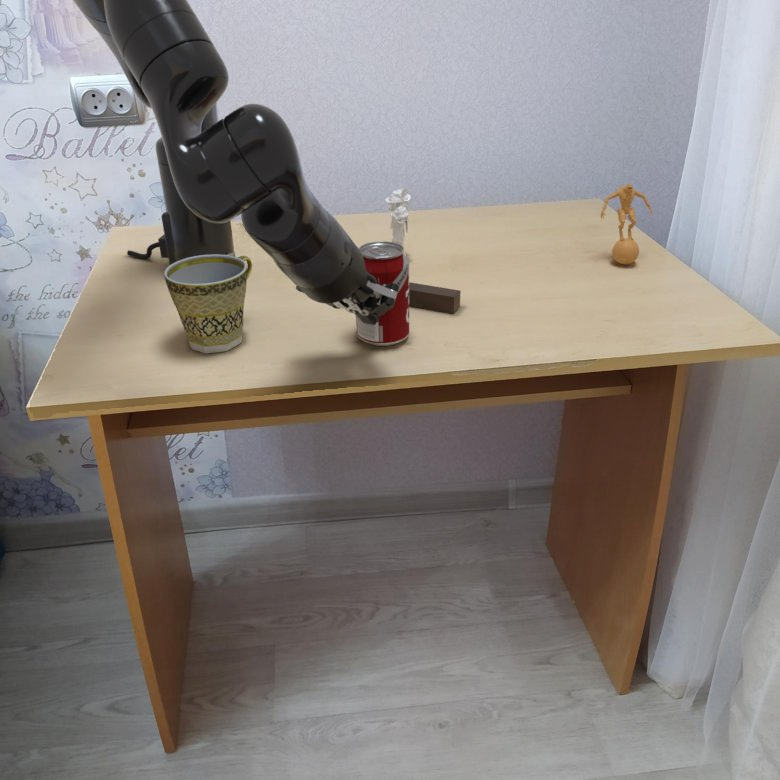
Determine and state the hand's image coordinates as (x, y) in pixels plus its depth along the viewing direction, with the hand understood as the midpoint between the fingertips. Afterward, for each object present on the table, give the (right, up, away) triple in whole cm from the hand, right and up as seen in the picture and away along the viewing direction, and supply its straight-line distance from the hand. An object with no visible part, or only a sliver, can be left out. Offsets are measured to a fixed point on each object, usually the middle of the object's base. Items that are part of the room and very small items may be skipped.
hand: (372, 317), depth 94 cm
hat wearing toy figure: (+3, +12, +29) cm, 32 cm away
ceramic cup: (-19, -2, +6) cm, 20 cm away
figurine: (+38, +11, +27) cm, 48 cm away
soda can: (+1, -2, +5) cm, 6 cm away
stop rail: (+6, +3, +14) cm, 15 cm away
